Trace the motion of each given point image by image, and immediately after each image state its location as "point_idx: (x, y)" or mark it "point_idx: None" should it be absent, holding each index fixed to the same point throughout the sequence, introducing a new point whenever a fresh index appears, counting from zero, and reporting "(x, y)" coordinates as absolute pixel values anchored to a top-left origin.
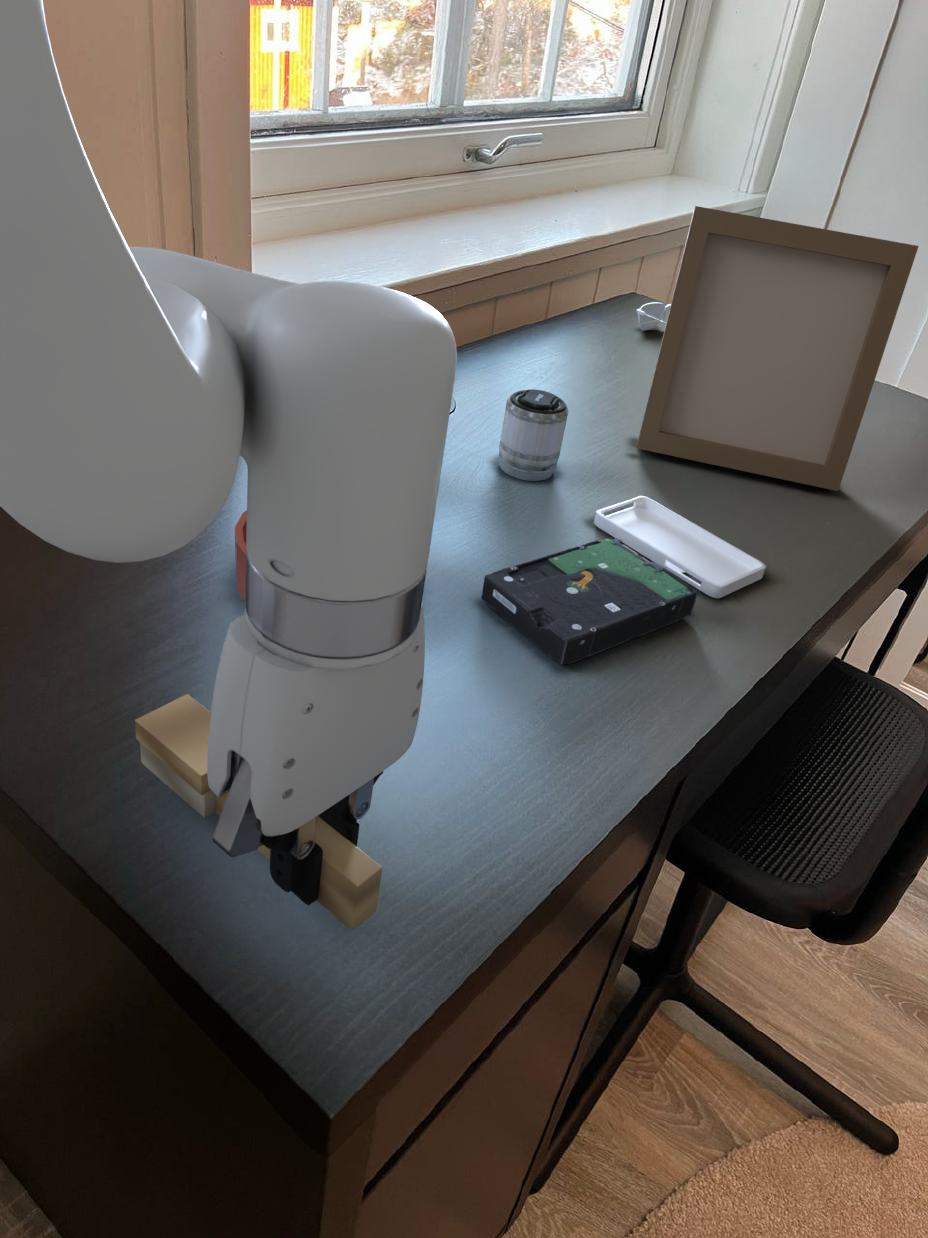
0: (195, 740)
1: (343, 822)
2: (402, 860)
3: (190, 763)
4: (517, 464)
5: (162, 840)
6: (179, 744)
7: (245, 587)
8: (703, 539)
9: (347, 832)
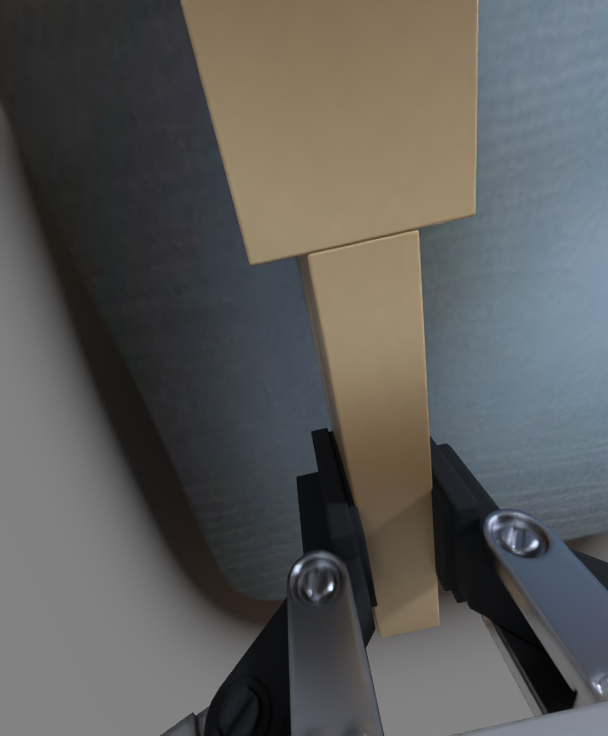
0: (313, 39)
1: (456, 585)
2: (492, 436)
3: (240, 179)
4: None
5: (193, 197)
6: (238, 25)
7: None
8: None
9: (445, 589)
